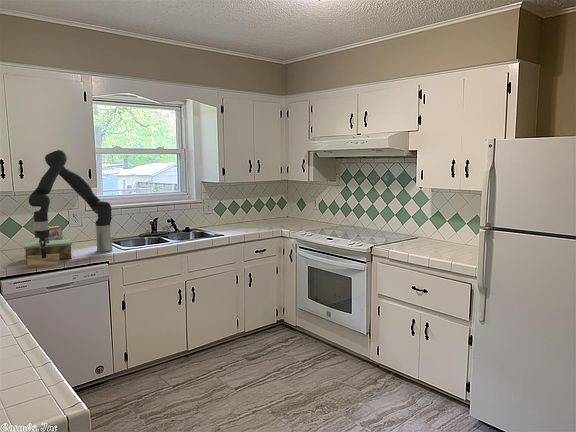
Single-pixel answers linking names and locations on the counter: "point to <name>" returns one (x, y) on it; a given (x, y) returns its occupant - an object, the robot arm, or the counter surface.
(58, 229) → the candy bar box
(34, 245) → the lid
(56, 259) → the tan block
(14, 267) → the counter surface
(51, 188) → the robot arm
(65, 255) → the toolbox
